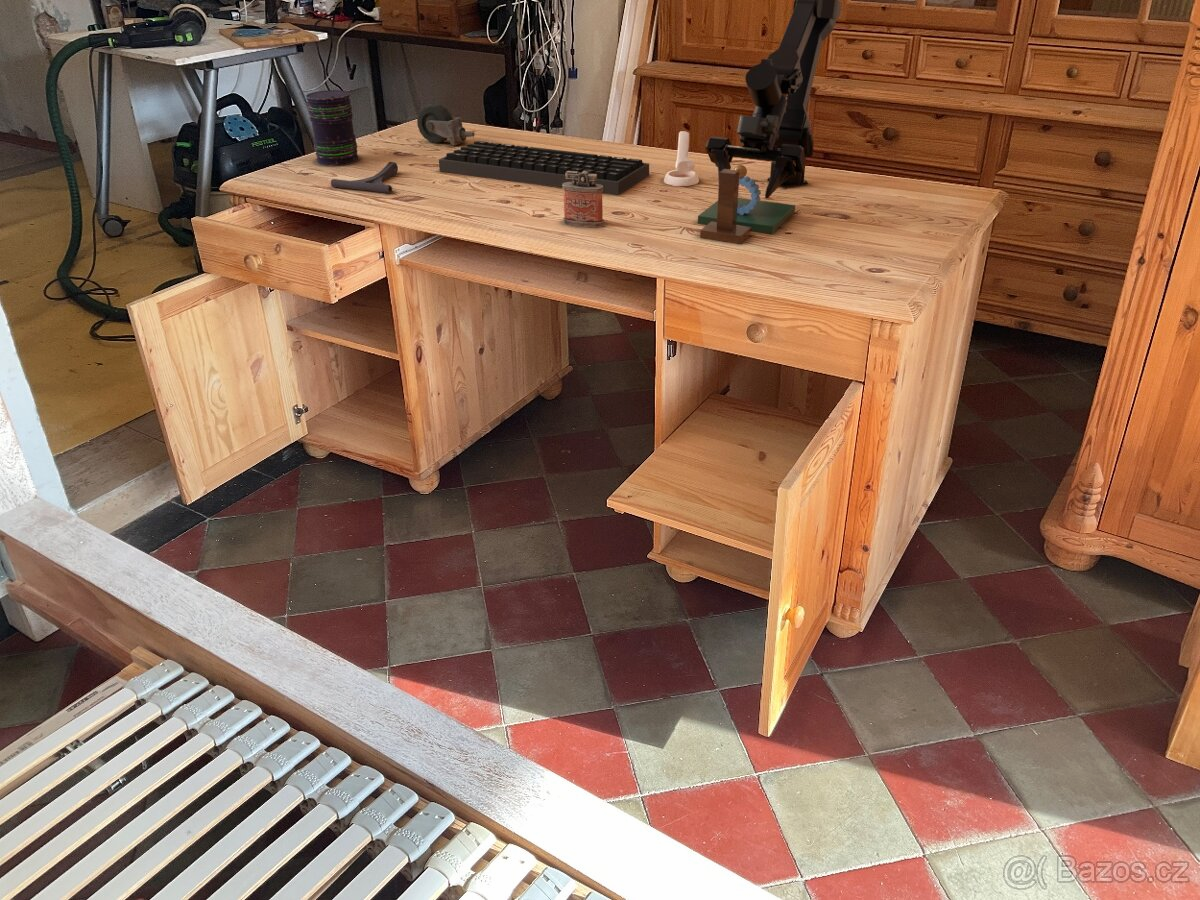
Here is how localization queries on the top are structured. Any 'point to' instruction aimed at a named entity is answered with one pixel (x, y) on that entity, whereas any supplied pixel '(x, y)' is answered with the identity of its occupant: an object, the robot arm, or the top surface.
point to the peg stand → (727, 209)
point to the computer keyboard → (542, 165)
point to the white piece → (682, 165)
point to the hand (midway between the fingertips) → (743, 194)
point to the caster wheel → (441, 125)
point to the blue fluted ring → (755, 195)
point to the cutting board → (755, 215)
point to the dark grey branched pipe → (370, 181)
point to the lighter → (582, 200)
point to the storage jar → (332, 127)
